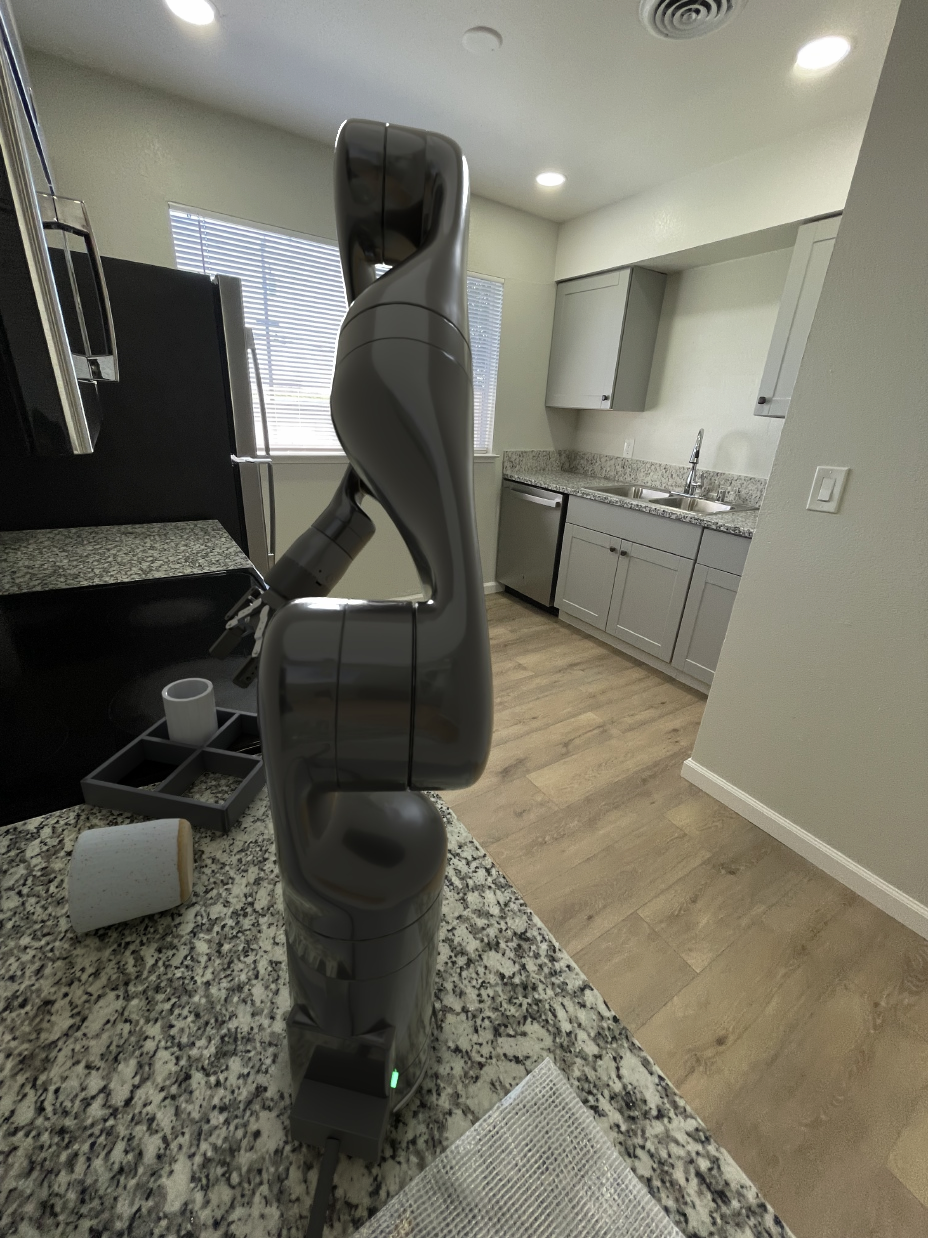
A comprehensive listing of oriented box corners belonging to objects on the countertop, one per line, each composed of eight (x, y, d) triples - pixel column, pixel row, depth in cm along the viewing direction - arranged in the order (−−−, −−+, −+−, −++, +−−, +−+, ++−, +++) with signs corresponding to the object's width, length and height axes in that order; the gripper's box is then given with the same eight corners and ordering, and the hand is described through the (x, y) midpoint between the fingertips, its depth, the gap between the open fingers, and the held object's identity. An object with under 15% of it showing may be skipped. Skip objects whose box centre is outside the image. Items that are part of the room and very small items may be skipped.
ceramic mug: (195, 921, 43) (184, 852, 40) (77, 956, 40) (56, 884, 37) (198, 832, 52) (189, 770, 49) (101, 854, 48) (86, 789, 46)
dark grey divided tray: (227, 833, 52) (224, 810, 51) (85, 804, 54) (79, 781, 53) (300, 740, 67) (299, 721, 66) (187, 720, 69) (184, 701, 67)
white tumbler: (201, 760, 61) (193, 704, 58) (161, 753, 62) (151, 696, 59) (227, 735, 66) (221, 681, 63) (190, 728, 67) (182, 675, 64)
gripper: (267, 539, 68) (184, 635, 66) (313, 568, 59) (218, 681, 56) (305, 572, 74) (230, 661, 71) (354, 603, 64) (269, 708, 61)
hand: (225, 670), depth 64 cm, fingers open, 8 cm apart
